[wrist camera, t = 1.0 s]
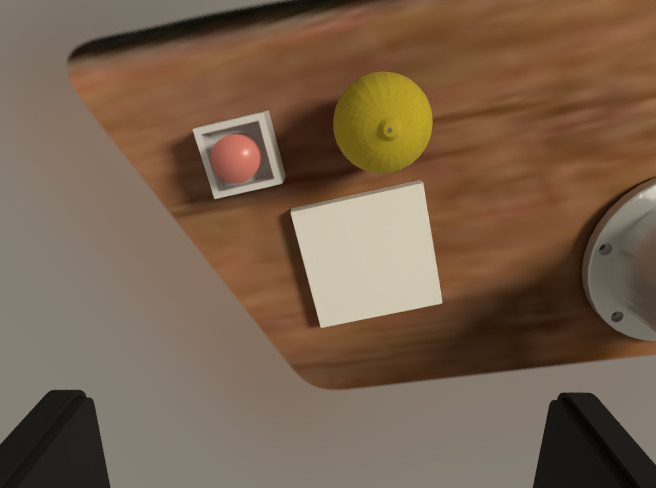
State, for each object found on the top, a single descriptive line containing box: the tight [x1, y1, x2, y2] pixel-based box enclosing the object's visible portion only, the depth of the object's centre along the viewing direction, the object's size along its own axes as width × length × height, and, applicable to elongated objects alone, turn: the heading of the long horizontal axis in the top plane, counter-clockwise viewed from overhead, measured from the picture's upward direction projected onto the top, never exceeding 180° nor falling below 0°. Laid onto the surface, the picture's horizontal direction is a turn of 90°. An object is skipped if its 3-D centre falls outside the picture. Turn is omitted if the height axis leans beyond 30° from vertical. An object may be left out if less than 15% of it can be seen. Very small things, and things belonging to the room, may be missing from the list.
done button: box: [210, 133, 262, 184], centre depth 28 cm, size 3×3×2 cm
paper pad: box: [291, 180, 442, 328], centre depth 32 cm, size 9×9×1 cm
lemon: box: [333, 72, 433, 173], centre depth 26 cm, size 6×6×8 cm
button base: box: [193, 110, 286, 199], centre depth 29 cm, size 4×4×3 cm
